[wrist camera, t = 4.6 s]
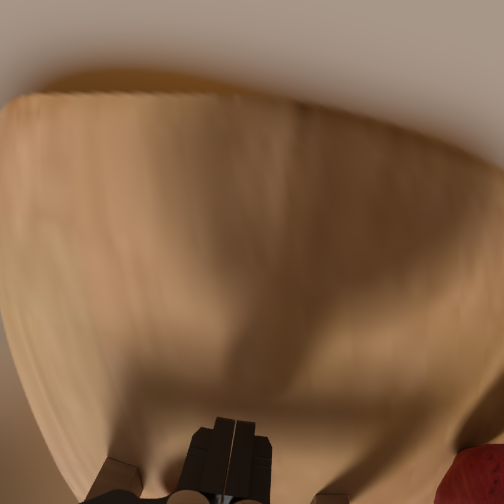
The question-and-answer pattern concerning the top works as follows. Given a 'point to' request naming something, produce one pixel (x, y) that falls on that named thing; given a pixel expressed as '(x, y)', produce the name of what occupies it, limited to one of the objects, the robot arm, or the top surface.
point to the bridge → (128, 479)
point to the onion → (474, 477)
